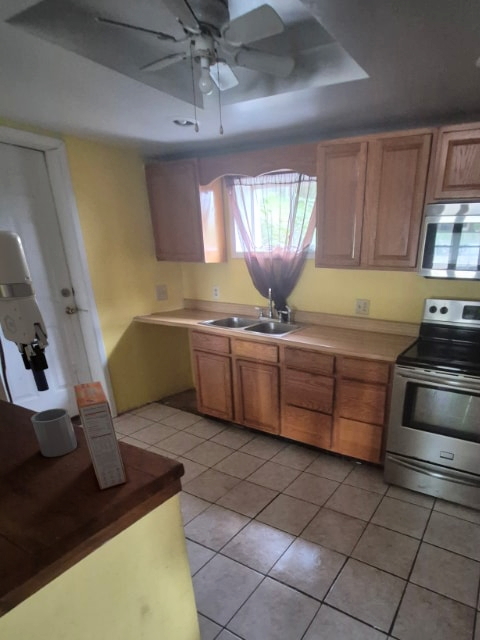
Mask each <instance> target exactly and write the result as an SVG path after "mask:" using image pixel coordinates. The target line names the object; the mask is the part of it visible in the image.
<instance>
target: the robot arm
mask: <svg viewBox="0 0 480 640" xmlns="http://www.w3.org/2000/svg"><path fill="white" fill-rule="evenodd" d="M30 272H31V271H30V268H29V264H28V261H27V257H26V254H25V250H24V246H23V243H22V240H21V237H20V236H19V234H18V233H17V232H15V231H12V230H0V328H1V332H2V335H3V338H4V339H5V340H7V341H8V342H11V343H12V342H13V343H14V344H15V346H16V347H17V351H18V352H19V354H20V356H21V360H22V363H23V365H24V369H25V370H27V371H31V367H30V363H29V360H28V357H27V354H26V351H25V347H27V346H28V347H29V350H30V353H31V356H29V357H30V360H31V363H32V367H33V370H34V371H35V372H39V371H42V370H44V371H45V370H48V369H49V364H48V361H47V358H46V348H47V347H49V342H48V338H49V334H48V329H47V325H46V322H45V319H44V316H43V314H42V313H43V312H42V311H41V308H40V305H39V302H38V301H37V294H36V290H35V286H34V282H33V279H32V276H31V273H30ZM34 346H35V347H34Z"/></svg>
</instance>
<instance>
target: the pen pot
mask: <svg viewBox="0 0 480 640" xmlns="http://www.w3.org/2000/svg"><path fill="white" fill-rule="evenodd" d="M30 422H31V425H32V428H33V431H34V434H35V439H36V441H37V445H38V449H39V451H40V453H41V455H42V456H44V457H46V458H55V457H60V456H65V455H66V454H69V453H71V452H73V451H74V450H75V449H76V448H77V447H78V441H77V437H76V434H75V430H74V426H73V422H72V418H71V414H70V411H69V410H68V409H67V408H62V407H61V408H59V407H58V408H57V407H56V408H50V409H46V410H42V411H39V412H37V413H34V414H33V415H32V416H31V417H30Z"/></svg>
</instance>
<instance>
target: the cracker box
mask: <svg viewBox="0 0 480 640" xmlns="http://www.w3.org/2000/svg"><path fill="white" fill-rule="evenodd" d="M73 390H74V396H75V401H76V406H77V412H78V415H79V419H80V423H81V427H82V430H83V434H84V438H85V442H86V446H87V448H88V452H89V456H90V459H91V462H92V463H91V464H92V466H93V470H94V473H95V476H96V479H97V483H98V486H99V489H100V490H106V489H109V488H112V487H115V486H119V485H122V484H125V483H127V482H128V480H127V477H126V473H125V467H124V464H123V460H122V455H121V451H120V447H119V442H118V438H117V434H116V429H115V424H114V419H113V416H112V411H111V406H110V402H109V400H108V398H107V397H108V396H107V395H106V393H105V390H104V388H103V385H102V382H101V381H99V380H98V381H94V382H88V383H81V384H76V385H73Z"/></svg>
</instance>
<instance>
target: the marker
mask: <svg viewBox="0 0 480 640" xmlns="http://www.w3.org/2000/svg"><path fill="white" fill-rule="evenodd" d="M33 346H34V347H35V345H33ZM25 351H26V354H27V357H28V360H29V363H30V367H31V369H30V371H31V373H32V376H33V379H34V382H35V383H34V384H35V386H36V389H37V392H47V391H49V390H50V387H49V383H48V379H47V375H46V373H45V370H42V371H39V372H35V371H34V370H33V367H32V363H31V360H30V357H29V356H31V353H30V350H29V347H28V346H27V347H25Z"/></svg>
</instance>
